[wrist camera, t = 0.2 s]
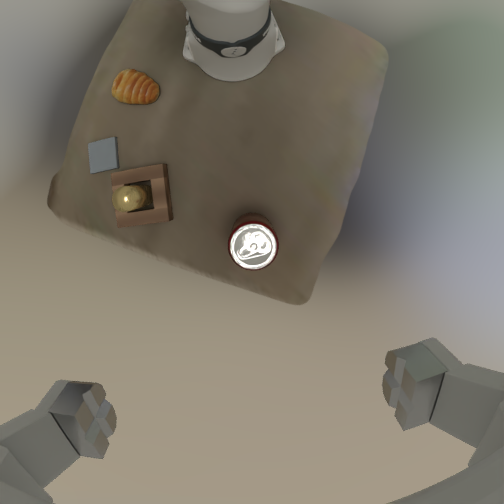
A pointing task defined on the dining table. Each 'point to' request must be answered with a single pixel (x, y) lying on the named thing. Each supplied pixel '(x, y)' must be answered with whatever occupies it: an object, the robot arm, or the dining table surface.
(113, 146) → the mat
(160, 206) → the wooden square frame
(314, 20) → the dining table surface
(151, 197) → the peg
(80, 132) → the dining table surface
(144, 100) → the pastry
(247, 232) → the soda can
